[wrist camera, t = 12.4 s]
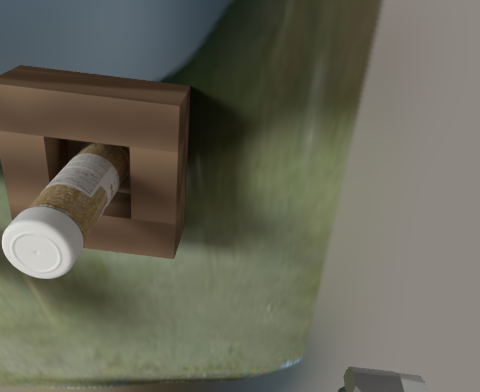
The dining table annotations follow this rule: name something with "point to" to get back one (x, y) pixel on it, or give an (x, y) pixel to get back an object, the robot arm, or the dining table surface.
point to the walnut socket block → (106, 132)
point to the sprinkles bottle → (66, 212)
